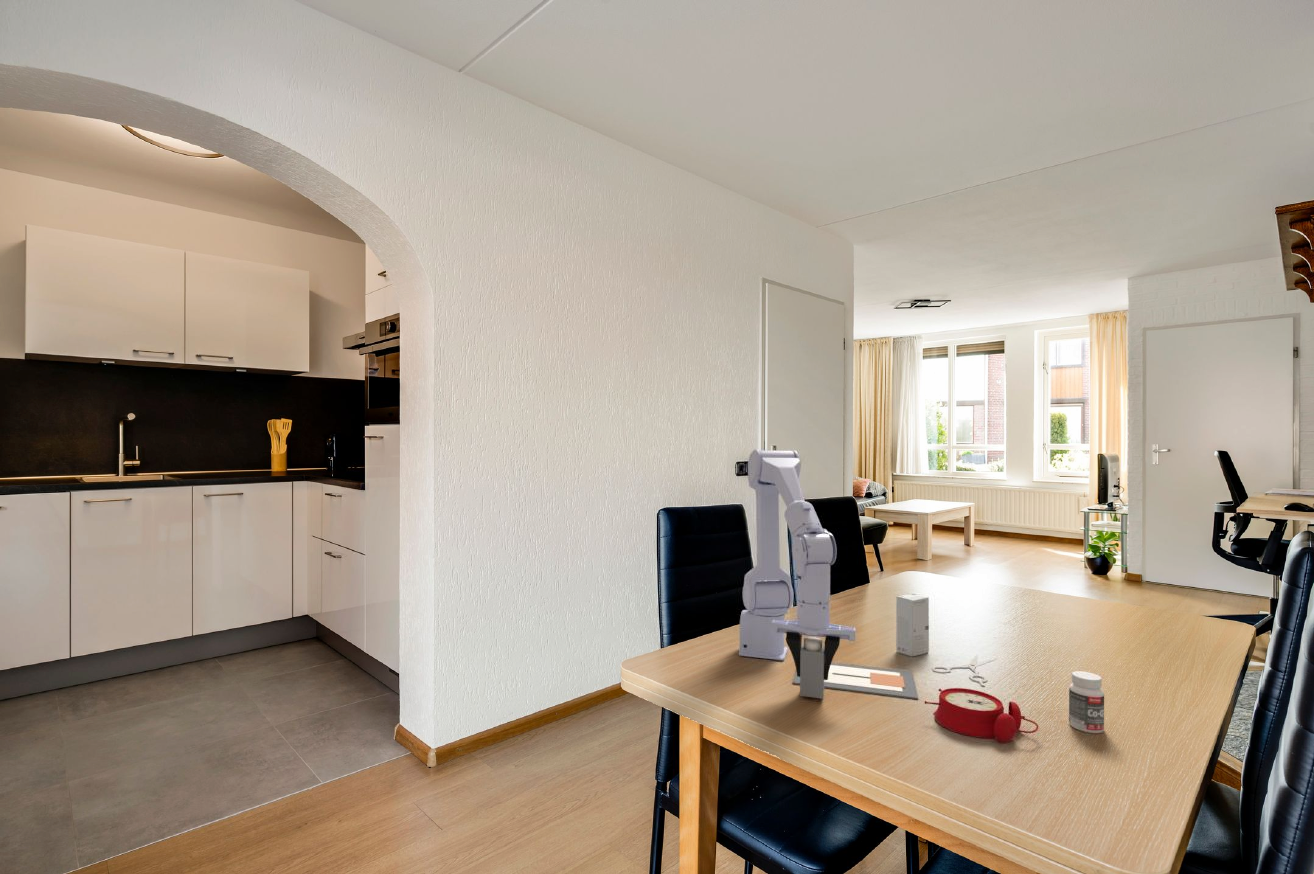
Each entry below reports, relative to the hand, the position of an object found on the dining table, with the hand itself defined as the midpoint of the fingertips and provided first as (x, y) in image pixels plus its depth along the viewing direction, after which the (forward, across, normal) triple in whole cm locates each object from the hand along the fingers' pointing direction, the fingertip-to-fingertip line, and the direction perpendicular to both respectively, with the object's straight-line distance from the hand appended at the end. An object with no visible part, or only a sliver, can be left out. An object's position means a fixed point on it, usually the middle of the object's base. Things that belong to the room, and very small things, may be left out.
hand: (812, 676), depth 115 cm
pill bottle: (+4, +43, +2) cm, 43 cm away
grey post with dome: (+3, 0, 0) cm, 3 cm away
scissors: (+4, +30, +27) cm, 41 cm away
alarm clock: (+4, +27, -3) cm, 27 cm away
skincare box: (+4, +19, +33) cm, 38 cm away
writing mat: (+4, +7, +12) cm, 14 cm away
